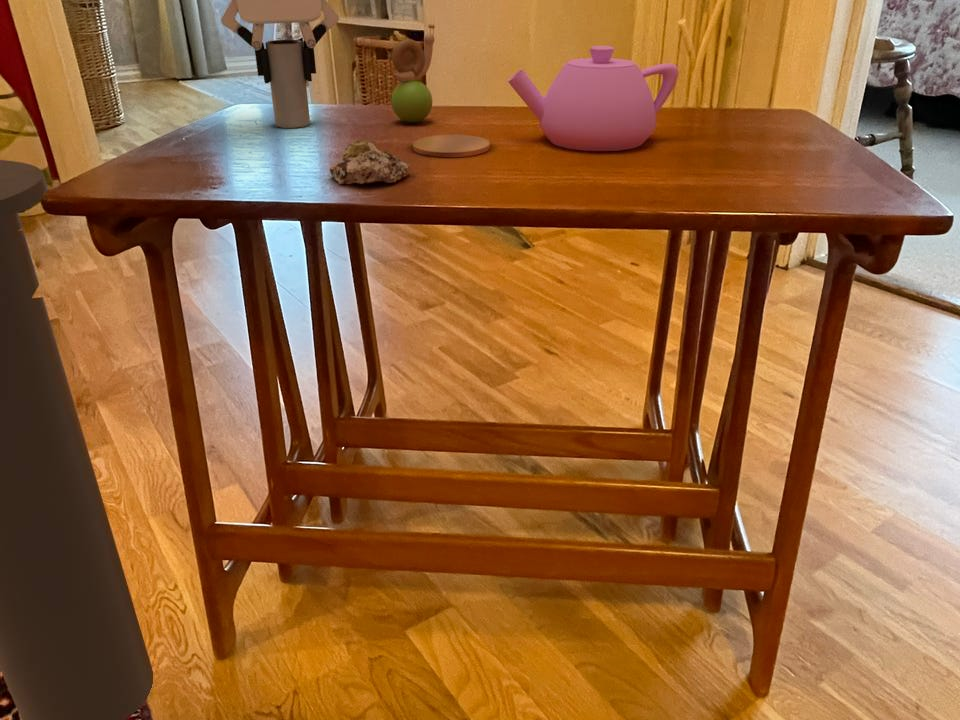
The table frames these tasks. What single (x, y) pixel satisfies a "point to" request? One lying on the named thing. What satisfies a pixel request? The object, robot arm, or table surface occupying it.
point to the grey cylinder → (288, 83)
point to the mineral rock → (368, 165)
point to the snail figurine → (412, 79)
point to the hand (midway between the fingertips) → (287, 79)
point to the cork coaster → (451, 146)
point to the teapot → (598, 102)
